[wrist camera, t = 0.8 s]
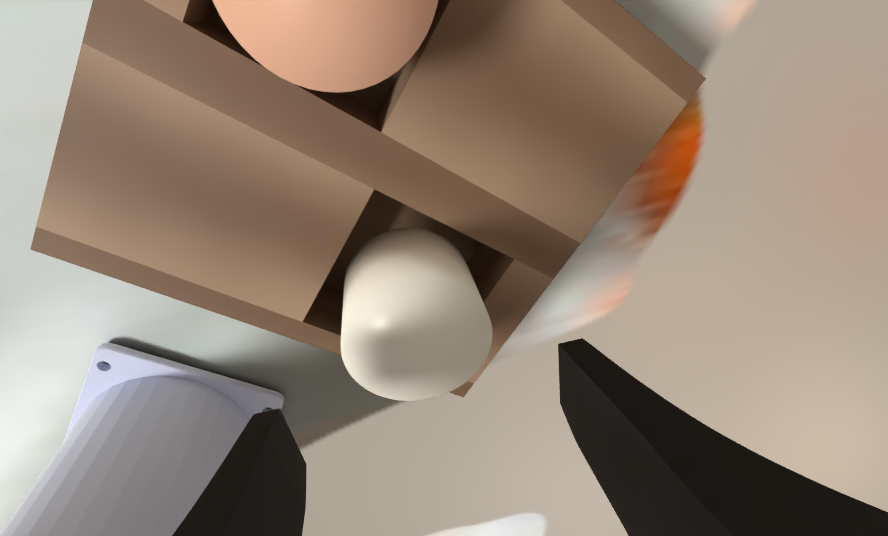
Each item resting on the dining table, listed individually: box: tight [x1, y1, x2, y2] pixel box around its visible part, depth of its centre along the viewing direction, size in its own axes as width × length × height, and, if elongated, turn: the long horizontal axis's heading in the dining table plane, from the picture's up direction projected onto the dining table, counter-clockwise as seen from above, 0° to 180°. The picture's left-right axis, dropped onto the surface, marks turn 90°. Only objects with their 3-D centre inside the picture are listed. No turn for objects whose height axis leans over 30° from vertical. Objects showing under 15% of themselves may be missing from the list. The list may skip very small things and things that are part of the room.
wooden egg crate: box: [31, 0, 706, 397], centre depth 15 cm, size 14×15×4 cm
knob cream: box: [341, 227, 492, 401], centre depth 15 cm, size 4×4×3 cm
